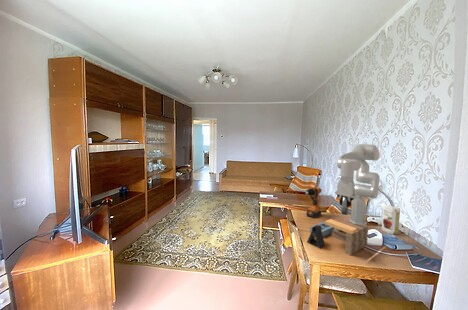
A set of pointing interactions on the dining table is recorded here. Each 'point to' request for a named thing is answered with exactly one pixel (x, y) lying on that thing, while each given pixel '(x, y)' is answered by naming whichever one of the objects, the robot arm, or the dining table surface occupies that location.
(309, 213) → the power drill
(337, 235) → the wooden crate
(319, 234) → the black a-frame stand
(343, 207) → the drill bit
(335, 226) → the bar
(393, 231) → the juice carton
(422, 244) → the dining table surface
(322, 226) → the rack
